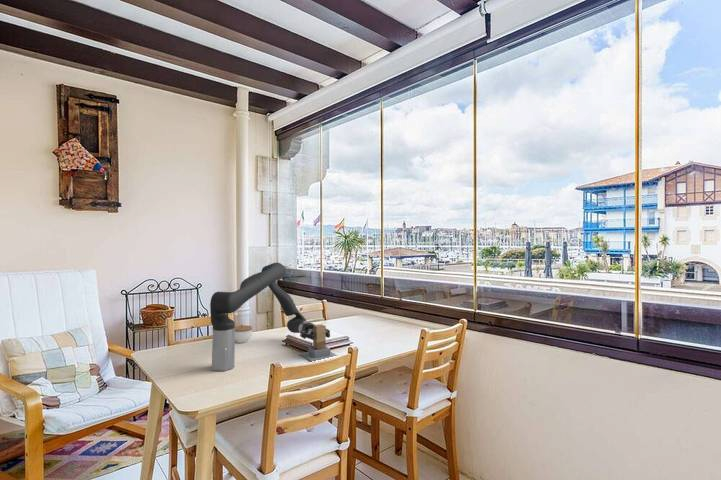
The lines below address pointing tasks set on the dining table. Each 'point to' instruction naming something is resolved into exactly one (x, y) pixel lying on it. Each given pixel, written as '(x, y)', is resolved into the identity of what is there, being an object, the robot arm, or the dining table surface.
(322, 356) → the slate stand
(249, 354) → the dining table surface
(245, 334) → the lidded jar
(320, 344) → the walnut block
